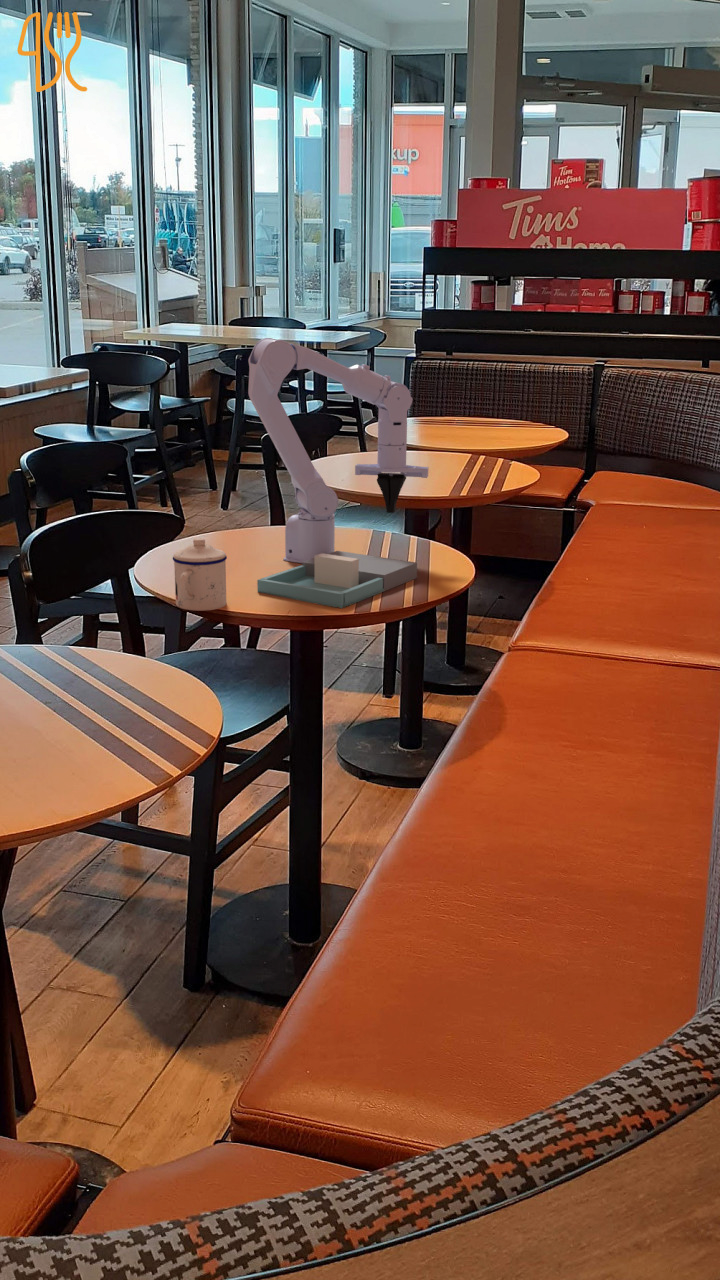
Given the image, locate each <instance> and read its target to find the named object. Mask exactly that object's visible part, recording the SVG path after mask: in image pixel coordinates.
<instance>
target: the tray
mask: <svg viewBox="0 0 720 1280" xmlns="http://www.w3.org/2000/svg"><path fill="white" fill-rule="evenodd" d="M256 582H257V583H256V584H257V593H261V594H266V595H272V596H275V597H280V598H286V599H290V600H296V601H300V602H306V603H310V604H314V603H316V604H315V605H320V604H321V606H326V605H327V607H331V606H332V608H337V607H339V608H338V609H344V608H346V607H345V606H347V607H349V606H352V605H354V604H356V603H359V602H362V601H364V600H366V599H369V598H371V597H374V596H376V595H379V594H381V593H384V592H385V591H384V589H383V578H376V579H373V580H371V581H368V582H366V583H363V584H360V585H358V586H355V587H353V588H345V587H339V586H333V585H327V584H321V583H315V577H311V576H305V566H302V565H297V566H295V567H291V568H289V569H288V568H287V569H286V570H283V571H280V572H276V573H273V574H271V575H268V576H265V577H261V578H258V579H257V581H256ZM351 604H352V605H351ZM348 605H349V606H348ZM343 607H344V608H343Z"/></svg>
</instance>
